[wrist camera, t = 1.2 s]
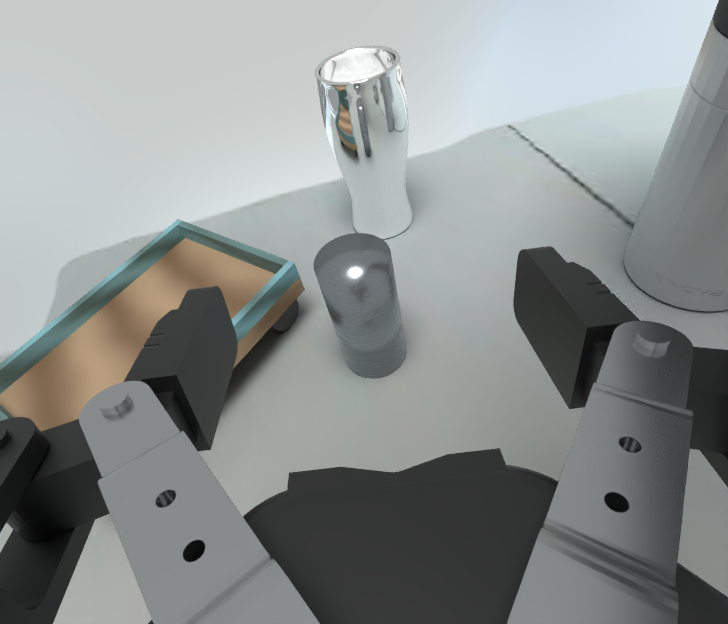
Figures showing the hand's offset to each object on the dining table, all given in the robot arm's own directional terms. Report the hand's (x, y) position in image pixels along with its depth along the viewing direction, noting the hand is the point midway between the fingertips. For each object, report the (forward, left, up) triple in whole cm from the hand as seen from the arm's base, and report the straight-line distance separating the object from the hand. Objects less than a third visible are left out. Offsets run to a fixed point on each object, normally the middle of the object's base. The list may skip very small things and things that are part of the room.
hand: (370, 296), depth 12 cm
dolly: (0, -23, -20) cm, 30 cm away
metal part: (-9, -9, -20) cm, 23 cm away
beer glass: (-23, -17, -20) cm, 34 cm away
